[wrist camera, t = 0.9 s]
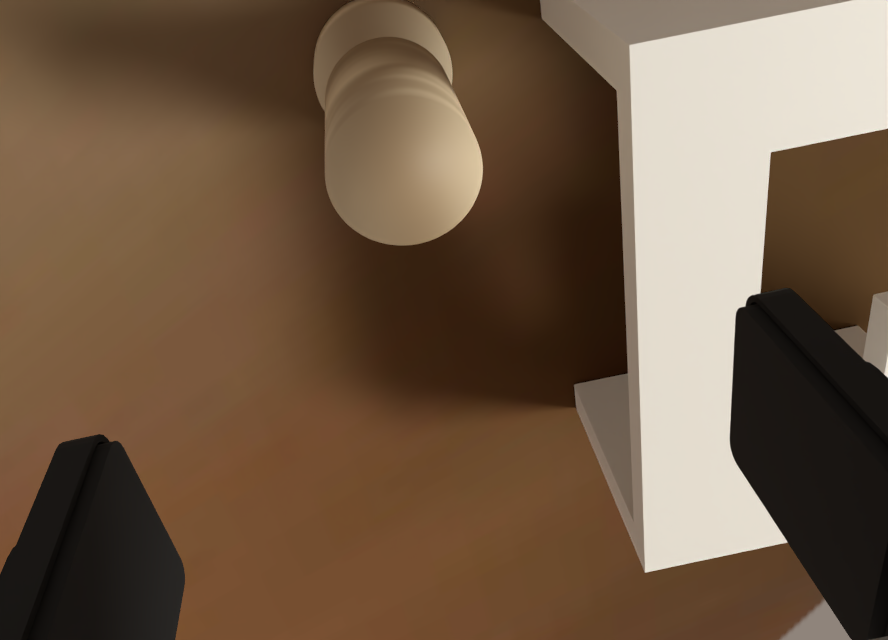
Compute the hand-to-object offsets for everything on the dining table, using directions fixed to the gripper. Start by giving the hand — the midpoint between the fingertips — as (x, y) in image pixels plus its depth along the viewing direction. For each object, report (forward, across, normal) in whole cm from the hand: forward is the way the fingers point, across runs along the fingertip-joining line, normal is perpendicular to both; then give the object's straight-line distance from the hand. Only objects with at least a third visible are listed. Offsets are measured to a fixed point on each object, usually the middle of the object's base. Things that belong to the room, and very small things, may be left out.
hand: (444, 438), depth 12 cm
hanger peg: (+20, 0, 0) cm, 20 cm away
